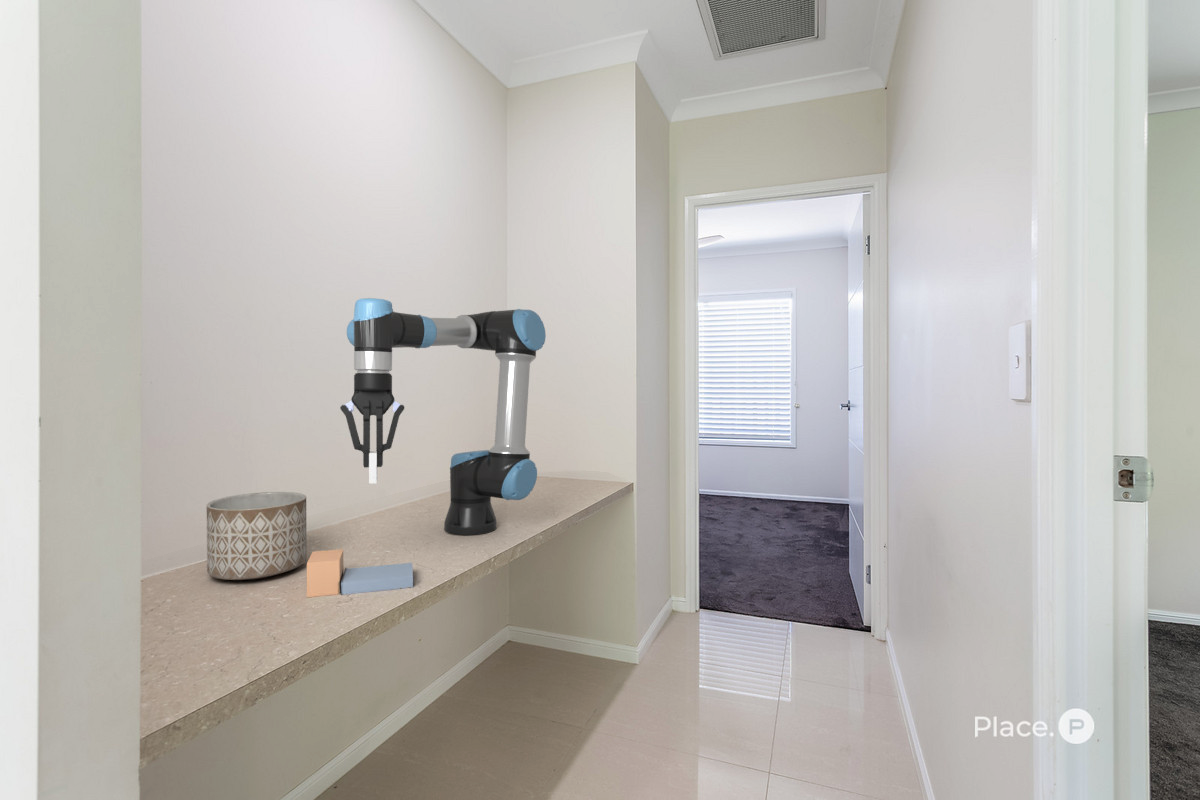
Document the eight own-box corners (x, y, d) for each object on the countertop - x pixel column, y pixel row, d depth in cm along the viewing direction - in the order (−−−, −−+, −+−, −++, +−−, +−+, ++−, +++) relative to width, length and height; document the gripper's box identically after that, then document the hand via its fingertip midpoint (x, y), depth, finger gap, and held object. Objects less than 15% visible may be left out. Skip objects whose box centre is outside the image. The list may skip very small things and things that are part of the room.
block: (343, 580, 123) (343, 549, 123) (339, 594, 116) (339, 560, 116) (312, 583, 121) (312, 551, 121) (306, 597, 114) (306, 563, 114)
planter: (302, 553, 142) (302, 488, 141) (310, 576, 126) (310, 503, 125) (209, 566, 131) (208, 496, 131) (205, 593, 115) (204, 513, 115)
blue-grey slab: (412, 573, 129) (412, 562, 128) (412, 587, 120) (412, 575, 120) (345, 579, 124) (345, 568, 124) (340, 594, 115) (340, 582, 115)
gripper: (405, 373, 126) (405, 478, 127) (341, 371, 121) (341, 480, 122) (405, 372, 119) (405, 484, 119) (337, 371, 114) (337, 487, 115)
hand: (373, 482), depth 121 cm, fingers closed
